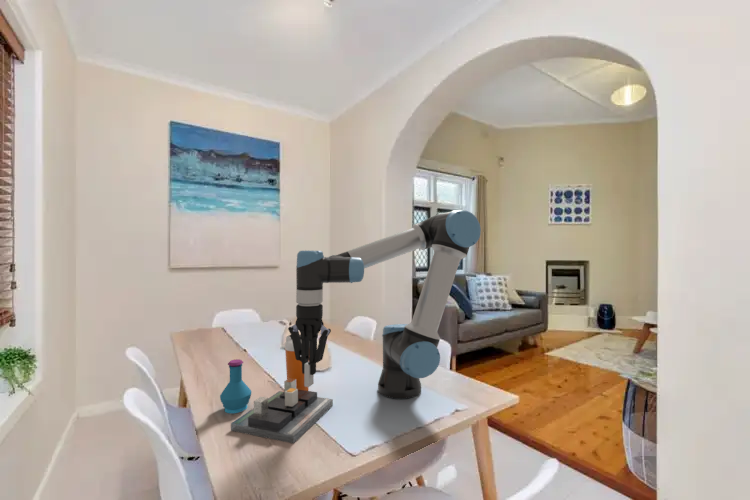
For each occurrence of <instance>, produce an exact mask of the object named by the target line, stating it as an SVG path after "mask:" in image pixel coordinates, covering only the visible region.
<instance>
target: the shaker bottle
mask: <svg viewBox="0 0 750 500" xmlns="http://www.w3.org/2000/svg"><path fill="white" fill-rule="evenodd" d="M299 335H300V340H301V334H299ZM284 352H285V353H284V354H285V367H286V369H285V370H286V380H287V379H289V378H292V379H296V389H298V390H305V391H309V387H305V386H304V374H303V373H302V362H301V361H300V360H296V357H295V352H294V347H293V342H292V337H291V334H288V335H287V336H286V337H285V343H284ZM308 361H309V360H308Z"/></svg>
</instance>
